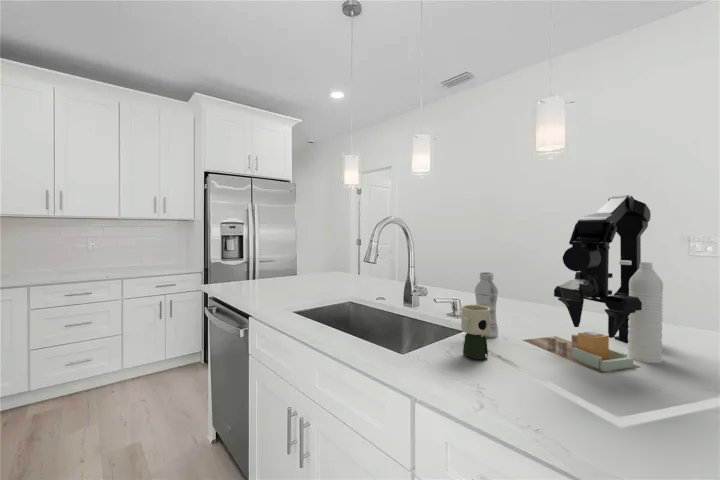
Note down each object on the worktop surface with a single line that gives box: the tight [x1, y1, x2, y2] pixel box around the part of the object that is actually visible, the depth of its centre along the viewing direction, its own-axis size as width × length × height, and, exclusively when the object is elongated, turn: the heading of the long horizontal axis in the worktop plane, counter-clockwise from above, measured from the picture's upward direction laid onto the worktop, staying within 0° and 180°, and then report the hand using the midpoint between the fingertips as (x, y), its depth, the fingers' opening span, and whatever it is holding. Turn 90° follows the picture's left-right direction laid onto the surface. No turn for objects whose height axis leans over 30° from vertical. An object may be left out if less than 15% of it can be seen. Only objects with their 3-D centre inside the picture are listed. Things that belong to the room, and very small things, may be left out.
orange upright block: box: [577, 330, 610, 361], centre depth 84 cm, size 5×4×6 cm
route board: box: [522, 333, 640, 374], centre depth 89 cm, size 12×24×4 cm, turn 16°
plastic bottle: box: [474, 272, 499, 339], centre depth 104 cm, size 6×7×20 cm
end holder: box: [572, 347, 634, 371], centre depth 82 cm, size 9×8×2 cm
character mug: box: [460, 304, 490, 360], centre depth 89 cm, size 11×7×13 cm, turn 133°
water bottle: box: [618, 259, 664, 364], centre depth 86 cm, size 9×6×25 cm
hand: (592, 332), depth 84 cm, fingers open, 9 cm apart
